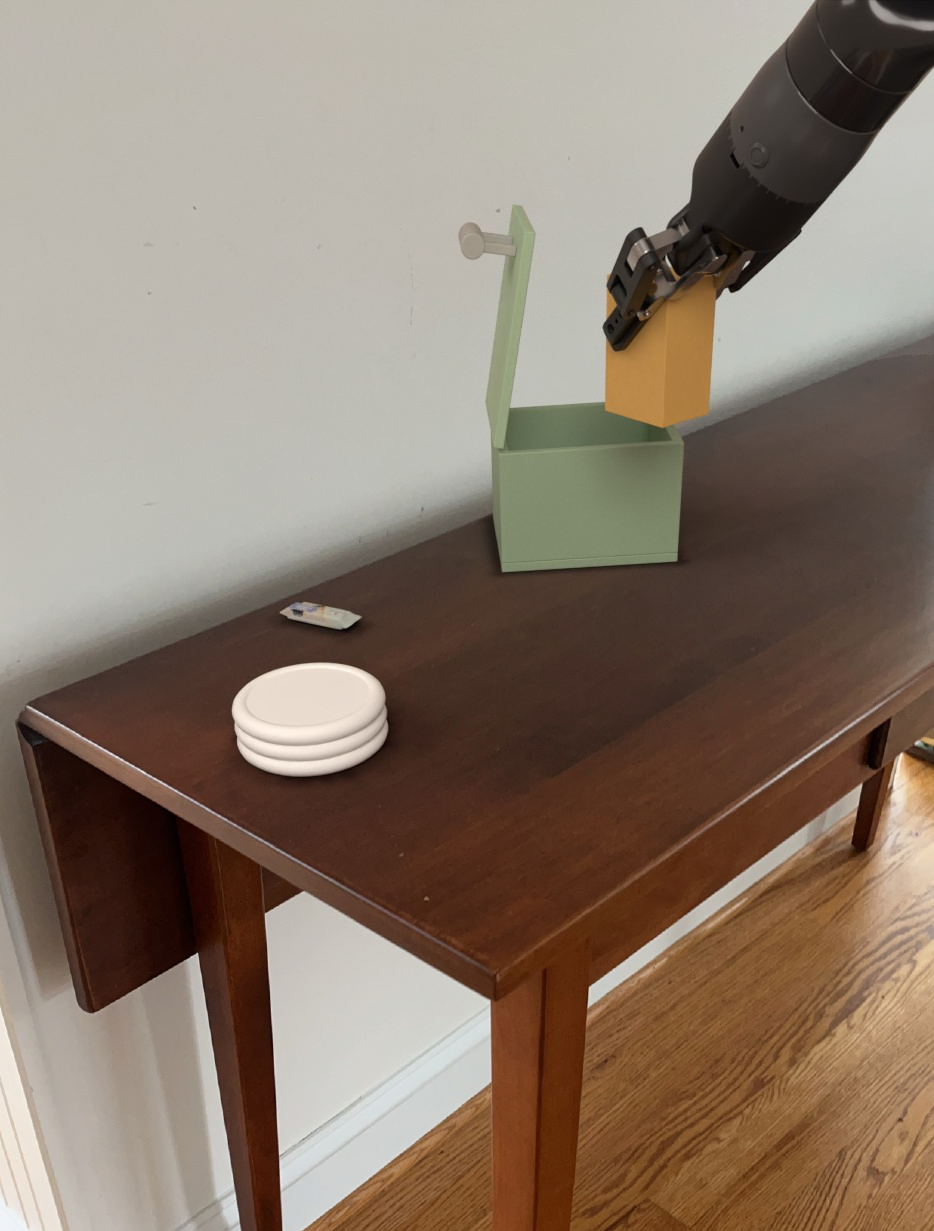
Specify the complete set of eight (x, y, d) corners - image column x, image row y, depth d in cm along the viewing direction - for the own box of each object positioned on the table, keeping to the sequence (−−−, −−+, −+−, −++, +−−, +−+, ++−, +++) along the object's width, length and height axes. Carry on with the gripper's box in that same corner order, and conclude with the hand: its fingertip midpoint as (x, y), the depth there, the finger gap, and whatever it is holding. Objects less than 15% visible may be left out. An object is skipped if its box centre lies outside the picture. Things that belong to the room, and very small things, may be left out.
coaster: (313, 797, 78) (306, 747, 76) (207, 750, 84) (198, 703, 82) (419, 731, 84) (416, 684, 82) (314, 692, 90) (308, 646, 88)
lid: (522, 205, 100) (459, 197, 100) (535, 232, 90) (466, 223, 90) (494, 404, 109) (436, 397, 109) (503, 449, 99) (440, 442, 99)
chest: (653, 509, 115) (658, 398, 109) (677, 561, 105) (684, 442, 99) (493, 519, 115) (489, 409, 110) (502, 572, 105) (498, 454, 99)
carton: (650, 398, 93) (655, 263, 87) (709, 414, 88) (717, 274, 83) (604, 411, 91) (606, 274, 85) (662, 428, 87) (668, 286, 81)
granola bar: (365, 612, 98) (339, 624, 96) (366, 627, 98) (340, 639, 96) (301, 591, 101) (275, 603, 99) (302, 605, 102) (276, 616, 100)
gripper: (843, 74, 76) (689, 269, 91) (666, 101, 70) (534, 305, 85) (901, 181, 75) (737, 359, 91) (729, 217, 69) (584, 401, 85)
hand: (639, 332), depth 88 cm, fingers closed on carton, 4 cm apart
